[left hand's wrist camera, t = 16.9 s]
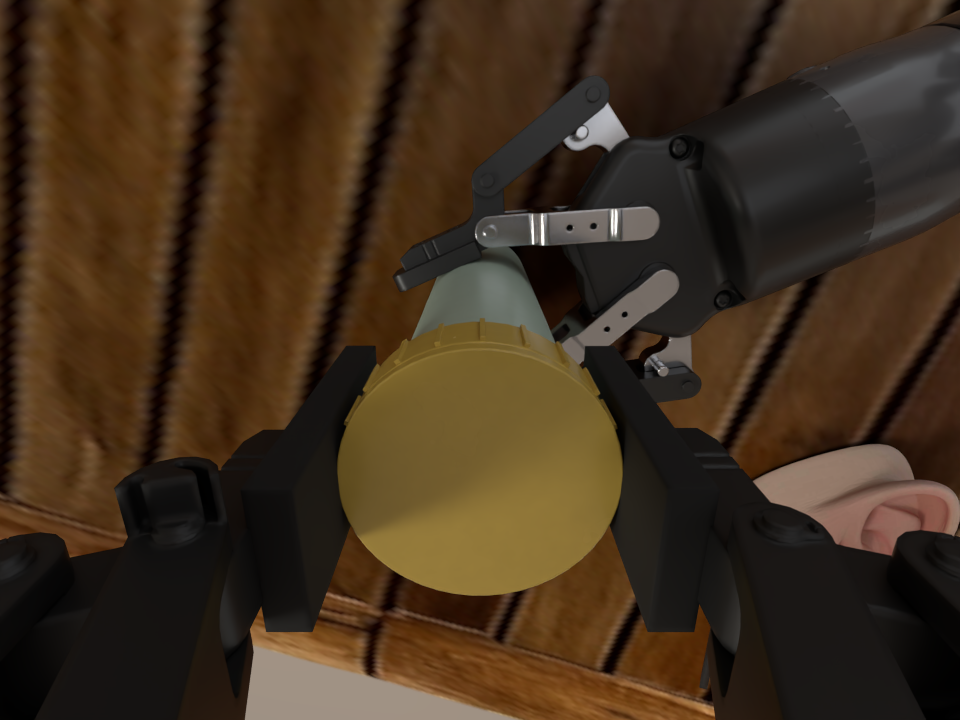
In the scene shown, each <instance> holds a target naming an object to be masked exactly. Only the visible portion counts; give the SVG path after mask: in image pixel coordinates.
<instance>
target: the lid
mask: <svg viewBox="0 0 960 720" xmlns="http://www.w3.org/2000/svg"><path fill="white" fill-rule="evenodd" d="M363 391H364V393H363V394H362V396H359V395H358V397H357V399H356V401H355V403H354V405H353V406H352V408H351V410H350V412H349V414H348V416H347V418H346V420H345V422H344V425H345V426H346V429H345V431H344V434H343V437H342V439H341V442H340V447H339V452H338V457H337V473H338V483H339V492H340V499H341V503H342V507H343V509H344V512H345V514H346V516H347V519H348V521H349V523H350V525H351V526H352V528H353V530H354V531H355V533H356V535H357V536H358V537H359V539H360V540H361V541H362V542H363V544H364V545H365V546H366V547H367V549H368V550H370V551H371V552H372V553H373V554H374V555H375V556H376V557H377V558H378V559H379V560H380V561H381V562H383V563H384V564H385V565H387V566H388V567H389V568H391V569H392V570H394V571H395V572H397V573H399V574H400V575H402V576H404V577H405V578H407V579H410V580H412V581H414V582H416V583H418V584H421V585H424V586H427V587H430V588H433V589H436V590H440V591H444V592H449V593H454V594H463V595H497V594H506V593H511V592H516V591H521V590H524V589H527V588H530V587H534V586H537V585H539V584H542V583H544V582H546V581H548V580H551V579H553V578H555V577H556V576H558V575H560V574H562V573H563V572H565V571H567V570H568V569H569V568H571V567H572V566H573V565H575V564H576V563H578V562H579V561H580V560H581V559H582V558H583V557H584V556H585V555H587V554H588V553H589V552H590V551H591V550H592V549H593V547H594V546H595V545H596V544H597V543H598V541H599V540H600V539H601V538H602V536H603V535H604V533H605V531H606V530H607V528H608V527H609V525H610V523H611V521H612V519H613V517H614V514H615V512H616V510H617V507H618V503H619V500H620V495H621V486H622V477H623V457H622V451H621V446H620V442H619V439H618V436H617V434H616V431H615V430H616V429H618V428H617V425H616V423H615V421H614V419H613V417H612V415H611V413H610V411H609V409H608V407H607V406H606V404H605V402H604V400H603V399H601V400H600V398H599V396H598V395H599V394H600V392H599V390H598V388H597V386H596V384H595V382H594V380H593V379H592V377H591V375H590V373H589V371H588V369H587V368H586V367H585V368H583V369H582V368H581V367H580V365H579V364H578V363H577V362H576V361H575V360H574V359H573V358H572V357H571V356H570V355H569V354H568V353H566V352H565V351H564V349H563V347H562V344H561V343H560V342H558V341H557V342H556V343H553V342H551V341H549V340H548V339H546V338H544V337H542V336H541V335H539V334H536V333H534V332H531V331H529V330H527V329H526V326H525V325H523V324H521V325H520V327H516V326H512V325H509V324H503V323H495V322H485V318H480V322H465V323H457V324H452V325H448V326H445V325H444V323H441V324H439V326H438V328H437V329H434V330H431V331H429V332H426V333H424V334H421V335H420V336H418V337H416V338H414V339H412V340H411V341H409V342H408V340H407V339H405V340H404V341H402V343H401V346H400V348H399V349H398V350H396V351H395V352H393V353H392V354H391V355H390V356H389V357H388V358H387V359H386V360H385V361H384V362H383V363H382V364H381V366H379V365H378V364H377V365H376V366H375V367H374V369H373V371H372V373H371V375H370V376H369V378H368V380H367V382H366V384H365V386H364V388H363Z"/></svg>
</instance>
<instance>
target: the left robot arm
mask: <svg viewBox="0 0 960 720" xmlns="http://www.w3.org/2000/svg"><path fill="white" fill-rule="evenodd" d="M376 365H377V362H376V348H375V346H346V347H345V349H344V350H343V351H342V353H341V354H340V355H339V357H338V358H337V359H336V361H335V362H334V363H333V365H332V366H331V368H330V369H329V370H328V372H327V373H326V374H325V376H324V377H323V378H322V380H321V381H320V382H319V384H318V385H317V387H316V388H315V389H314V391H313V392H312V393H311V395H310V396H309V397H308V399H307V400H306V401H305V403H304V404H303V405H302V407H301V408H300V410H299V411H298V412H297V414H296V415H295V416H294V418H293V419H292V420H291V422H290V423H289V424H288V426H287V427H286V429H285V430H262V431H261V432H259V433H257V434H256V435H254V436H252V437H251V438H249V439H247V440H246V441H244V442H243V443H242V444H241V445H240V446H239V448H238V449H237V450H236V451H235V452H234V454H233V455H232V457H231V459H228V461H227V462H226V463H225V464H224V465H223V466H222V469H221V471H218V466H217V465H216V464H215V463H214V462H212V461H211V460H210V459H205V458H200V457H179V458H174V459H169V460H164V461H159V462H157V463H154V464H151V465H149V466H146V467H143V468H140V469H139V470H137V471H135V472H134V473H132V474H130V475H128V476H127V477H125V478H124V479H123V480H122V481H121V482H120V483H119V484H118V485H117V486H116V487H115V488H114V489H115V492H116V496H117V500H118V503H119V507H120V510H121V514H122V517H123V521H124V525H125V528H126V532H127V535H128V538H127V540H126V542H125V544H124V546H123V547H119V548H116V549H111V550H106V551H101V552H96V553H91V554H86V555H81V556H76V557H71V558H70V557H69V554H68V551H67V548H66V545H65V542H64V540H63V539H62V538H60V537H59V536H58V535H56V534H50V533H41V532H40V533H32V534H25V535H17V536H13V537H9V539H6V538H5V539H2V540H0V720H245V713H246V705H247V698H248V690H249V683H250V675H251V668H252V660H253V653H254V652H253V644H252V638H251V633H250V628H251V626H252V624H253V622H254V620H255V618H256V616H257V614H258V611H259V609H260V607H261V606H262V612H263V617H264V622H265V628H266V632H313V629H314V626H315V623H316V621H317V618H318V615H319V612H320V609H321V607H322V604H323V601H324V598H325V596H326V593H327V590H328V587H329V584H330V582H331V579H332V576H333V573H334V570H335V568H336V565H337V562H338V559H339V556H340V554H341V551H342V548H343V545H344V543H345V540H346V537H347V534H348V531H349V529H350V526H351V525H350V523H349V521H348V519H347V516H346V514H345V512H344V509H343V507H342V503H341V499H340V492H339V483H338V473H337V457H338V452H339V447H340V442H341V439H342V437H343V434H344V431H345V429H346V426H345V425H344V422H345V420H346V418H347V416H348V414H349V412H350V410H351V408H352V406H353V405H354V403H355V401H356V399H357V397H358V395H359V396H362V394H363V393H364V391H363V388H364V386H365V384H366V382H367V380H368V378H369V376H370V375H371V373H372V371H373V369H374V367H375V366H376ZM585 367H586V368H587V369H588V371H589V373H590V375H591V377H592V379H593V380H594V382H595V384H596V386H597V388H598V390H599V392H600V394H599V395H598V396H599V398H600V400H601V399H603V400H604V402H605V404H606V406H607V407H608V409H609V411H610V413H611V415H612V417H613V419H614V421H615V423H616V425H617V428H618V429H616V430H615V431H616V434H617V436H618V439H619V442H620V446H621V451H622V457H623V477H622V486H621V495H620V500H619V503H618V507H617V510H616V512H615V514H614V517H613V519H612V521H611V523H610V528H611V530H612V533H613V536H614V539H615V542H616V544H617V547H618V550H619V553H620V556H621V558H622V561H623V564H624V567H625V569H626V572H627V575H628V578H629V581H630V583H631V586H632V589H633V592H634V595H635V597H636V600H637V603H638V606H639V609H640V611H641V614H642V617H643V620H644V622H645V625H646V628H647V631H648V632H694V630H695V624H696V619H697V614H698V608H699V604H700V606H701V608H702V610H703V612H704V614H705V616H706V618H707V620H708V622H709V624H710V626H711V628H710V633H709V638H708V643H707V648H706V653H705V658H704V663H703V668H702V674H701V680H700V687H699V688H703V689H707V687H708V682H709V677H710V681H711V689H712V696H713V704H714V711H715V719H716V720H960V537H958V536H955V537H954V536H952V535H951V534H946V533H942V532H932V531H925V530H916V531H908V532H904V533H903V534H902V535H900V536H899V537H898V538H897V540H896V543H895V546H894V549H893V552H892V555H887V554H882V553H877V552H872V551H867V550H862V549H857V548H852V547H847V546H843V545H839V544H836V543H835V541H834V539H833V537H832V536H831V534H830V533H829V532H828V531H827V530H826V528H825V527H824V526H823V525H822V524H820V523H819V522H818V521H816V520H815V519H813V518H812V517H810V516H809V515H807V514H805V513H803V512H800V511H798V510H796V509H793V508H791V507H788V506H784V505H780V504H775V503H771V502H770V501H769V500H768V498H767V497H766V496H765V495H764V494H763V493H762V491H761V490H760V489H759V488H758V487H757V486H756V484H755V483H754V482H753V481H752V480H751V479H750V478H749V476H748V475H747V474H746V473H745V472H744V471H743V469H740V468H739V465H738V464H737V462H736V461H735V460H734V459H733V458H732V457H729V453H728V452H727V451H726V450H725V448H724V447H723V446H722V445H721V444H720V443H719V442H718V440H716V439H715V438H713V437H711V436H710V435H708V434H706V433H705V432H703V431H701V430H699V429H698V428H674V427H673V425H672V424H671V423H670V421H669V420H668V419H667V417H666V416H665V414H664V413H663V412H662V410H661V409H660V408H659V406H658V405H657V404H656V402H655V401H654V400H653V398H652V397H651V396H650V394H649V393H648V391H647V390H646V389H645V387H644V386H643V385H642V383H641V382H640V381H639V379H638V378H637V377H636V375H635V374H634V372H633V371H632V370H631V368H630V367H629V366H628V364H627V363H626V362H625V360H624V359H623V358H622V356H621V355H620V354H619V352H618V351H617V349H616V348H615V347H614V346H585V353H584V367H583V368H585Z"/></svg>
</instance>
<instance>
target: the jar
mask: <svg viewBox="0 0 960 720" xmlns="http://www.w3.org/2000/svg"><path fill="white" fill-rule="evenodd" d="M480 318H485V322H495V323H503V324H509V325H512V326H516V327H520V325H521V324H523V325H525V326H526V329H527V330H529V331H531V332H534V333H536V334H539V335H541V336H542V337H544V338H546V339H548V340H549V341H551V342H553V343H555V341H554V338H553V336H552V334H551V331H550V329H549V327H548V324H547V322H546V320H545V317H544V315H543V312H542V310H541V308H540V305H539V303H538V301H537V298H536V296H535V294H534V291H533V289H532V286H531V284H530V282H529V279H528V277H527V275H526V272H525V270H524V268H523V265H522V263H521V261H520V259H519V258H518V256H517V255H516V254H515V252H514V251H513V250H512V249H510V248H509V247H496V248H488V249H485V250H483V251H482V258H480V259H477V260H475V261H473V262H470V263H468V264H466V265H463V266H460V267H458V268H456V269H454V270H452V271H450V272H447V273H445V274H443V275H441V276H438V277H437V279H436V282H435V284H434V286H433V289H432V291H431V294H430V296H429V299H428V301H427V303H426V306H425V308H424V311H423V313H422V316H421V318H420V320H419V323H418V325H417V328H416V330H415V333H414V335H413V337H412V339H414V338H416V337H418V336H420V335H421V334H424V333H426V332H429V331H431V330H434V329H437V328H438V326H439V324H441V323H444V325H445V326H448V325H452V324H457V323H465V322H480Z"/></svg>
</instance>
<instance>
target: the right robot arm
mask: <svg viewBox="0 0 960 720" xmlns="http://www.w3.org/2000/svg"><path fill="white" fill-rule="evenodd" d="M609 96H610V90H609V86H608V84H607V82H606V81H605V80H604V79H603V78H601V77H599V76H589V77H587V78H585V79H584V80H582V81H581V82H580V83H579V84H578V85H576V86H575V87H574V88H573V89H572V90H570V91H569V92H568V93H567V94H566V95H564V96H563V97H562V98H561V99H560V100H558V101H557V102H556V103H555V104H553V105H552V106H551V107H550V108H549V109H547V110H546V111H545V112H544V113H543V114H541V115H540V116H539V117H538V118H537V119H535V120H534V121H533V122H532V123H531V124H529V125H528V126H527V127H526V128H525V129H523V130H522V131H521V132H520V133H518V134H517V135H516V136H515V137H514V138H512V139H511V140H510V141H509V142H508V143H506V144H505V145H504V146H503V147H502V148H500V149H499V150H498V151H497V152H496V153H494V154H493V155H492V156H491V157H490V158H488V159H487V160H486V161H485V162H483V163H482V164H481V165H480V166H479V167H477V168H476V170H475V171H474V173H473V175H472V191H473V213H472V215H471V217H470V218H469V219H468V220H467V221H466V222H464V223H462V224H460V225H458V226H455V227H453V228H451V229H449V230H446V231H444V232H442V233H440V234H438V235H435V236H433V237H431V238H429V239H426V240H424V241H422V242H420V243H417V244H415V245H413V246H412V247H411V248H410V249H409V250H408V251H407V252H406V254H405V255H404V256H403V257H402V258H401V259H400V261H401V263H402V265H403V268H401V269H399V270H398V271H397V272H396V273H395V274H394V275H393V276H392V277H393V279H394V281H395V283H396V285H397V287H398V289H399V291H400V292H403V291H406V290H408V289H411V288H413V287H415V286H418V285H420V284H422V283H425V282H427V281H429V280H431V279H434V278H436V277H438V276H441V275H443V274H445V273H447V272H450V271H452V270H454V269H456V268H458V267H460V266H463V265H466V264H468V263H470V262H473V261H475V260H477V259H480V258H482V251H483V250H485V249H488V248H496V247H510V246H524V245H539V246H549V245H561V246H562V249H563V251H564V254H565V255H566V257H567V258H568V260H569V261H570V262H571V264H572V265H573V266H574V268H575V271H576V282H577V288H578V291H579V294H580V296H581V299H582V300H581V301H580V302H579V303H577V304H576V305H575V306H574V307H573V308H572V309H570V310H569V311H568V312H567V313H566V314H565V316H564V317H563V319H562V321H561V322H560V323H559V324H558V325H557V326H555V327H554V328H553V329H552V330H551V334H552V336H553V338H554V341H555V343H556V342H557V341H558V342H560V343H561V344H562V347H563V349H564V351H565V352H566V353H568V354H569V355H570V356H571V357H572V358H573V359H574V360H575V361H576V362H577V363H578V364H580V363H581V362H582V361H584V353H585V346H609V345H610V344H612V343H613V342H614V341H615V340H616V339H618V338H619V337H620V336H621V335H623V334H624V333H625V332H626V331H627V330H629V329H634V330H639V331H644V332H648V333H653V334H657V335H662V338H661V340H660V341H659V342H658V343H657V344H656V345H654V346H651V347H648V348H646V349H644V350H643V351H642V352H641V354H640V356H639V359H634V360H627V361H625V362H626V363H627V364H628V366H629V367H630V368H631V370H632V371H633V372H634V374H635V375H636V377H637V378H638V379H639V381H640V382H641V383H642V385H643V386H644V387H645V389H646V390H647V391H648V393H649V394H650V396H651V397H652V398H653V400H654V401H655V402H656V403H659V402H666V401H673V400H680V399H687V398H691V397H693V396H695V395H696V394H697V393H698V392H699V391H700V388H701V380H700V378H699V377H698V376H697V375H696V374H695V373H694V371H693V370H692V356H691V335H692V334H693V333H695V332H696V331H698V330H699V329H700V328H701V327H702V326H703V325H704V323H705V322H706V321H707V320H709V319H710V318H711V317H712V316H714V315H715V314H717V313H718V312H720V311H723V310H725V309H729V308H732V307H736V306H739V305H742V304H745V303H748V302H751V301H753V300H756V299H758V298H761V297H763V296H766V295H769V294H771V293H774V292H776V291H779V290H781V289H784V288H786V287H789V286H791V285H794V284H796V283H799V282H801V281H804V280H806V279H809V278H811V277H814V276H817V275H819V274H822V273H824V272H827V271H829V270H832V269H834V268H837V267H840V266H842V265H845V264H847V263H849V262H852V261H854V260H857V259H859V258H862V257H864V256H867V255H870V254H872V253H875V252H877V251H880V250H882V249H885V248H887V247H890V246H892V245H895V244H897V243H900V242H902V241H905V240H907V239H910V238H912V237H914V236H917V235H919V234H921V233H923V232H925V231H927V230H929V229H931V228H933V227H935V226H936V225H938V224H940V223H942V222H944V221H945V220H947V219H949V218H951V217H953V216H955V215H956V214H958V213H960V10H959V11H956V12H954V13H952V14H950V15H948V16H945V17H943V18H941V19H939V20H936V21H934V22H932V23H930V24H927V25H925V26H923V27H921V28H918V29H916V30H913V31H911V32H908V33H905V34H903V35H900V36H897V37H894V38H891V39H887V40H884V41H880V42H877V43H873V44H870V45H867V46H864V47H861V48H858V49H855V50H853V51H850V52H848V53H845V54H843V55H841V56H838V57H836V58H834V59H832V60H830V61H827V62H825V63H823V64H820V65H816V66H812V67H807V68H805V69H802V70H800V71H798V72H796V73H795V74H793V75H791V76H790V77H788V78H787V80H785V81H783V82H780V83H778V84H776V85H774V86H771V87H769V88H767V89H765V90H762V91H760V92H758V93H756V94H753V95H751V96H749V97H747V98H745V99H742V100H740V101H738V102H736V103H734V104H731V105H729V106H727V107H725V108H722V109H720V110H718V111H716V112H713V113H711V114H709V115H707V116H704V117H702V118H700V119H698V120H696V121H693V122H691V123H689V124H687V125H684V126H682V127H680V128H678V129H675V130H673V131H671V132H669V133H666V134H664V135H661V136H659V137H643V136H633V137H629V136H628V134H627V132H626V131H625V129H624V128H623V126H622V125H621V123H620V121H619V120H618V118H617V117H616V115H615V113H614V112H613V110H612V109H611V107H610V105H609V104H608V100H609ZM560 143H561V144H562V145H563V147H564V148H565V149H567V150H569V151H580V150H583V149H586V148H587V147H589V146H596V147H598V148H600V149H601V150H602V151H603V152H604V153H603V155H602V157H601V158H600V160H599V161H598V163H597V165H596V166H595V168H594V170H593V171H592V173H591V174H590V176H589V178H588V179H587V181H586V182H585V184H584V186H583V187H582V189H581V190H580V192H579V194H578V195H577V197H576V198H575V200H574V202H573V203H572V205H560V206H546V207H534V208H528V209H517V210H504V190H503V189H504V188H505V187H506V186H508V185H509V184H510V183H511V182H512V181H514V180H515V179H516V178H517V177H519V176H520V175H521V174H522V173H524V172H525V171H526V170H527V169H529V168H530V167H531V166H532V165H534V164H535V163H536V162H537V161H538V160H540V159H541V158H542V157H543V156H545V155H546V154H547V153H548V152H550V151H551V150H552V149H553V148H555V147H556V146H557V145H558V144H560ZM606 326H607V328H605V327H606ZM604 328H605V329H604ZM581 368H582V369H583V367H581Z"/></svg>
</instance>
